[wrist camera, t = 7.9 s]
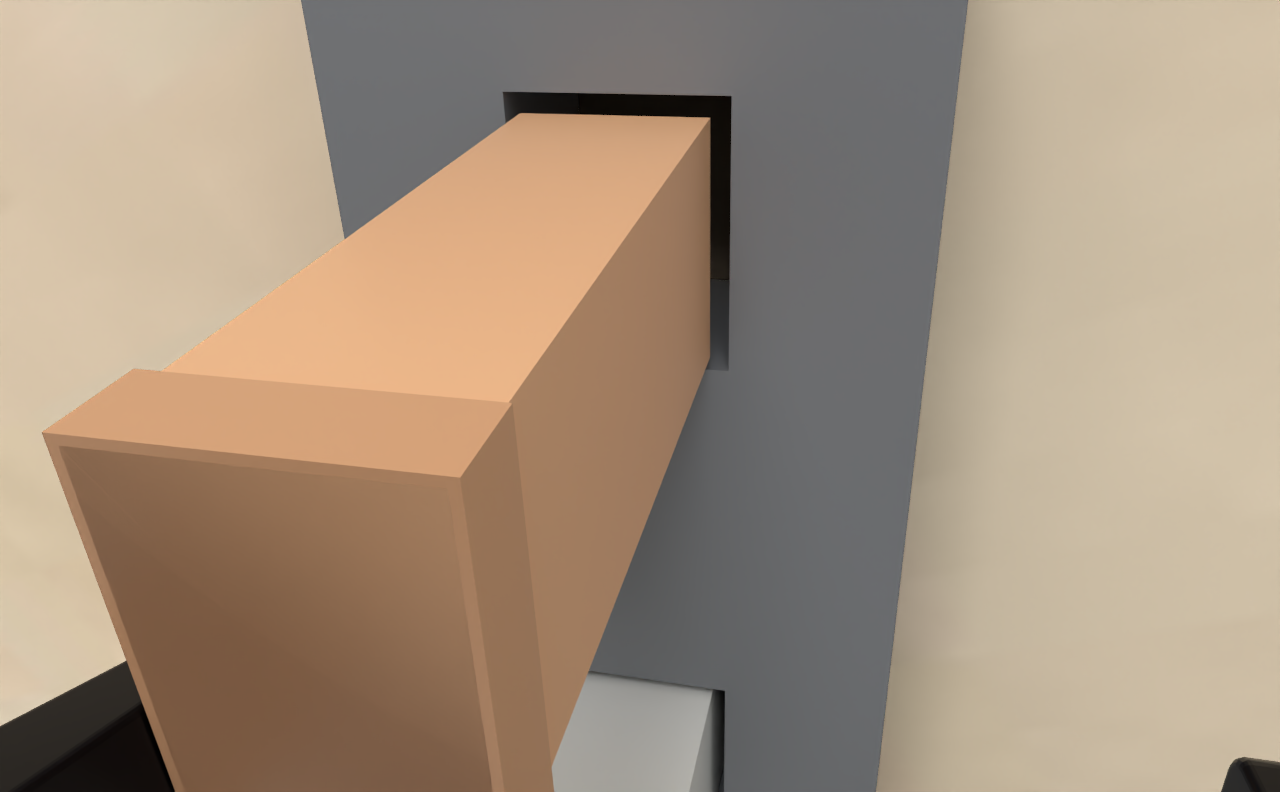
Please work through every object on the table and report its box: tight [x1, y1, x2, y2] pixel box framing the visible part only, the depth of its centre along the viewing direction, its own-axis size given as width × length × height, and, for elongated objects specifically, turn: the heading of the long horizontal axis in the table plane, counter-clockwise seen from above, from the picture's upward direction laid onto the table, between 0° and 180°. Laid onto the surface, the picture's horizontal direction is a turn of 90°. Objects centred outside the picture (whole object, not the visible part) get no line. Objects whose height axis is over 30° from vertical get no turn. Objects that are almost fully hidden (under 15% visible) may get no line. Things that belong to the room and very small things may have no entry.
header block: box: [301, 0, 968, 792], centre depth 21 cm, size 24×10×4 cm, turn 2°
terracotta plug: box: [42, 113, 710, 792], centre depth 12 cm, size 4×3×10 cm
